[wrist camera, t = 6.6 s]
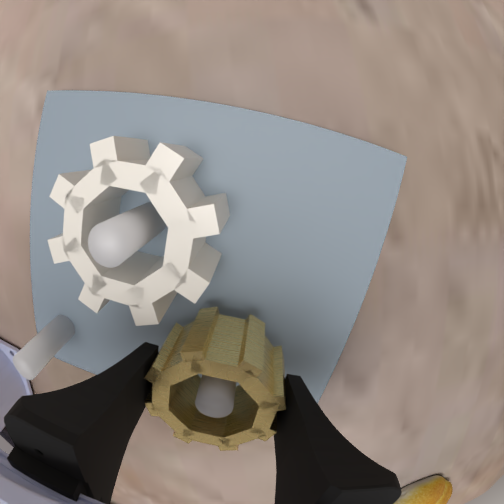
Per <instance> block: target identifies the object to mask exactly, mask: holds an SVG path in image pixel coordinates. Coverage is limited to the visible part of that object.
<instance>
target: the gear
mask: <svg viewBox="0 0 504 504" xmlns="http://www.w3.org/2000/svg"><path fill="white" fill-rule="evenodd" d="M90 150H91V156H92V162H93V167H94V168H93V169H92V170H85V171H77V172H69V173H62V174H59V175H58V177H57V180H56V182H55V184H54V187H53V189H52V191H51V194H50V196H49V197H50V198H52V199H53V200H54V201H55V202H57V203H58V204H59V205H60V206H61V207H63V208H64V223H63V233H62V234H60V235H57V236H55V237H53V238H51V239H49V240H48V244H49V248H50V251H51V255H52V258H53V262H54V264H56V263H61V262H66V261H70V262H71V263H72V265H73V266H74V268H75V269H76V271H77V272H78V274H79V275H80V277H81V278H82V280H83V281H84V283H85V284H84V286H83V289H82V291H81V293H80V296H79V298H78V300H80V301H81V302H82V303H84V304H85V305H86V306H87V307H89V308H90V309H91V310H93V311H94V312H95V313H98V312H99V311H100V310H101V309H102V308H103V307H104V306H105V305H106V304H107V303H108V302H109V301H110V300H112V301H115V302H119V303H122V304H125V305H129V307H130V310H131V313H132V316H133V319H134V322H135V325H136V326H142V325H154V324H159V323H160V321H161V320H162V318H163V316H164V314H165V313H166V311H167V309H168V308H169V306H170V304H171V303H172V301H173V299H174V298H175V296H176V294H177V293H179V294H181V295H182V296H184V297H185V298H187V299H188V300H190V301H191V302H193V303H194V304H195V303H196V302H197V300H198V299H199V298H200V296H201V295H202V293H203V292H204V291H205V289H206V288H207V286H208V285H209V284H210V281H211V279H212V277H213V274H214V272H215V269H216V267H217V264H218V262H219V260H220V257H221V255H222V253H220V252H219V251H217V250H216V249H214V248H213V247H211V246H210V245H208V244H207V243H206V242H205V241H206V236H211V235H217V234H220V233H221V231H222V229H223V227H224V225H225V224H226V222H227V220H228V218H229V217H230V212H229V207H228V201H227V196H226V193H221V194H216V195H210V196H205V195H204V193H203V192H202V190H201V189H200V187H199V186H198V184H197V183H196V181H195V180H194V178H193V176H192V175H193V174H194V172H195V171H196V169H197V168H198V166H199V165H200V163H201V162H202V160H203V159H204V158H202V157H201V156H199V155H198V154H196V153H195V152H193V151H192V150H190V149H189V148H187V147H186V146H182V145H175V144H169V143H162V142H160V143H159V144H158V146H157V148H156V149H155V151H154V152H153V154H152V156H151V157H150V151H149V145H148V140H144V139H137V138H128V137H120V136H111V137H108V138H105V139H102V140H99V141H96V142H94V143H91V144H90ZM129 190H134V191H139V192H144V193H146V194H147V196H148V198H149V199H150V201H151V202H152V204H153V205H154V207H155V208H156V210H157V211H158V213H159V214H160V216H161V218H162V219H163V221H164V222H165V224H166V225H167V227H168V233H167V240H166V246H165V253H164V256H162V257H160V256H155V255H151V254H147V253H143V252H139V251H136V252H135V253H134V254H133V255H131V256H130V257H129V258H128V259H126V260H125V261H124V262H123V263H121V264H120V265H119V266H117V267H113V268H108V267H104V266H102V265H100V264H98V263H97V262H96V261H95V260H94V258H93V257H92V255H91V253H90V251H89V248H88V237H89V233H90V231H91V230H92V228H93V227H94V226H96V225H97V224H99V223H101V222H104V221H106V220H108V219H110V218H112V217H115V216H117V215H119V211H120V203H121V196H122V195H124V194H125V193H126V192H127V191H129Z"/></svg>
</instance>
